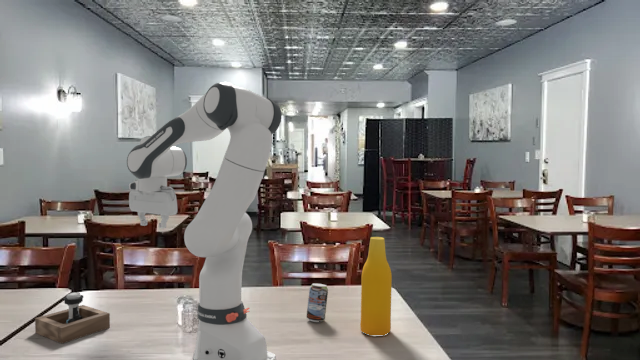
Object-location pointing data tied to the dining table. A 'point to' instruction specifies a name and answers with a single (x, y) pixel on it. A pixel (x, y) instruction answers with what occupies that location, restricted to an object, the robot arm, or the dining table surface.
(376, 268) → the beer bottle
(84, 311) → the wooden tray
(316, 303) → the beverage can
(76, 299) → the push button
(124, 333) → the dining table surface
